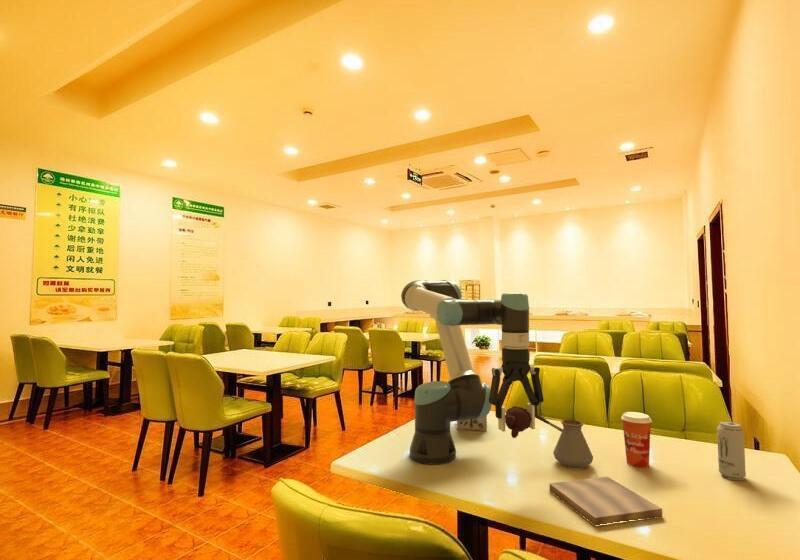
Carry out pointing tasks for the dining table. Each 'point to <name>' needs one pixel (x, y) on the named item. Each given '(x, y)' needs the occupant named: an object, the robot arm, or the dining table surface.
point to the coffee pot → (571, 445)
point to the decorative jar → (473, 424)
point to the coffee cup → (637, 438)
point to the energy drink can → (731, 450)
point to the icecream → (517, 420)
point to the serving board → (604, 500)
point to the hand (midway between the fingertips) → (516, 428)
